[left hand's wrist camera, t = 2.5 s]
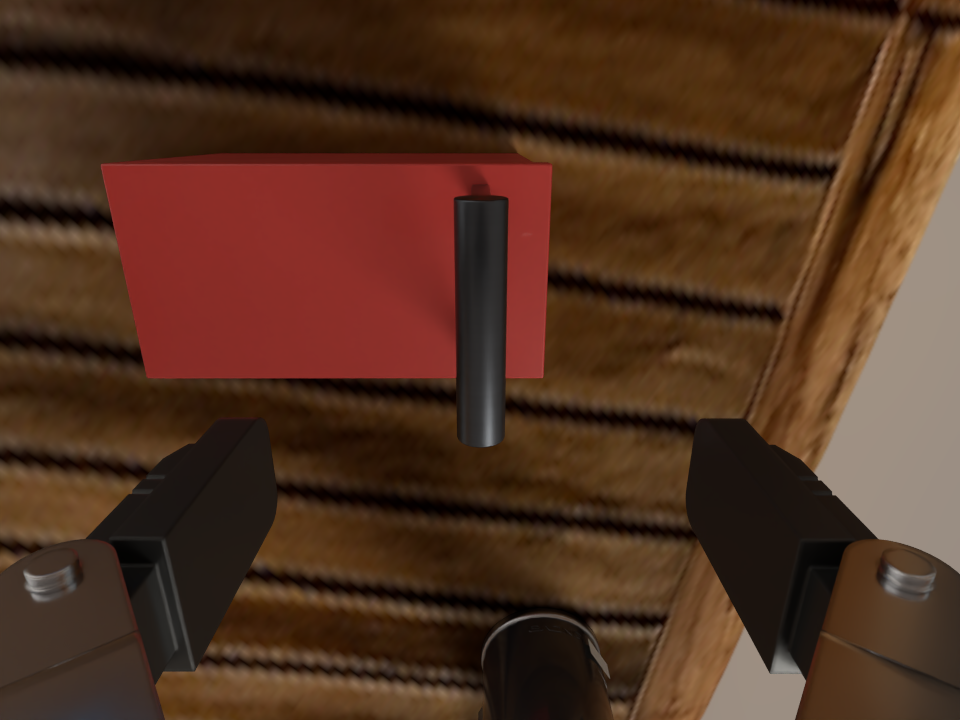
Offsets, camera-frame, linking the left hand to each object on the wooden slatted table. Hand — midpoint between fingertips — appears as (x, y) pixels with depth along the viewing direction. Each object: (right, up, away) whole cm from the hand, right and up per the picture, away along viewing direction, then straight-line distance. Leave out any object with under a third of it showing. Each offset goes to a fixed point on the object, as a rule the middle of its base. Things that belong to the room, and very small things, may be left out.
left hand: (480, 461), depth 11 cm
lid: (-6, +6, +15) cm, 17 cm away
